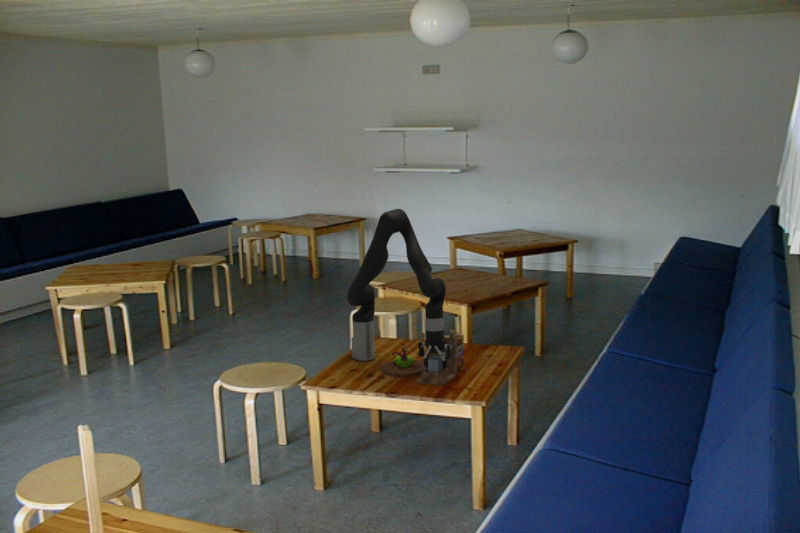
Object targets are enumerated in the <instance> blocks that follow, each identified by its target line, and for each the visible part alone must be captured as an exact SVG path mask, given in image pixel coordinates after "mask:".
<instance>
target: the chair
mask: <svg viewBox="0 0 800 533" xmlns="http://www.w3.org/2000/svg"><path fill="white" fill-rule="evenodd" d="M449 335H450V337H445V336H446V335H445V336H444V342H445V344H452V357H451V358H450V359H449V360H447V367H446V369H444V370H443V371H441V372H440V373H439V374H437V373H428V367H427V369H425V370H424V371H422V372H421V375H420V376H419V377H418V378H417V379H416V380H415V382H416V383H419V384H429V385H435V386H436V385H437V386H446V384H448V383H449V382H450V381H452V380H453V379H455V377H457V375H458V371H457V357H456V329H450V330H449ZM443 349H444V351H445V354H446V356H447V349H446V347H444V348H443ZM432 356H440V355H439V354H437V353H430V354H429V356H428V358H431V357H432Z"/></svg>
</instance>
